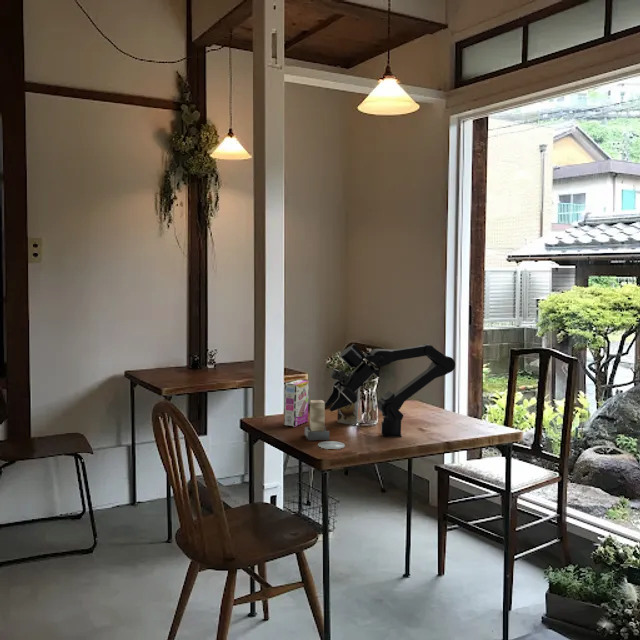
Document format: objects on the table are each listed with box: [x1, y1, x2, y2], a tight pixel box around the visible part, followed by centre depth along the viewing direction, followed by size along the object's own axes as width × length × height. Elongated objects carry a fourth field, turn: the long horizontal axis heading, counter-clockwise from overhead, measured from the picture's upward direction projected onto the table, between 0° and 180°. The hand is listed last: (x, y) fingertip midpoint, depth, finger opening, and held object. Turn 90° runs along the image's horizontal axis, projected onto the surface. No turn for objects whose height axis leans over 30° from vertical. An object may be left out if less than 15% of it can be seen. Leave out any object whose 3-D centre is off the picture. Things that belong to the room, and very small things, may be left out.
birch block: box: [309, 399, 326, 431], centre depth 258 cm, size 4×4×13 cm
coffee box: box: [336, 388, 360, 425], centre depth 283 cm, size 9×6×16 cm
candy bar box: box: [283, 379, 310, 428], centre depth 279 cm, size 11×5×16 cm, turn 154°
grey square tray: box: [304, 426, 330, 441], centre depth 259 cm, size 8×8×3 cm
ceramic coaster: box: [317, 440, 346, 450], centre depth 247 cm, size 9×9×1 cm
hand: (328, 407), depth 259 cm, fingers open, 9 cm apart
